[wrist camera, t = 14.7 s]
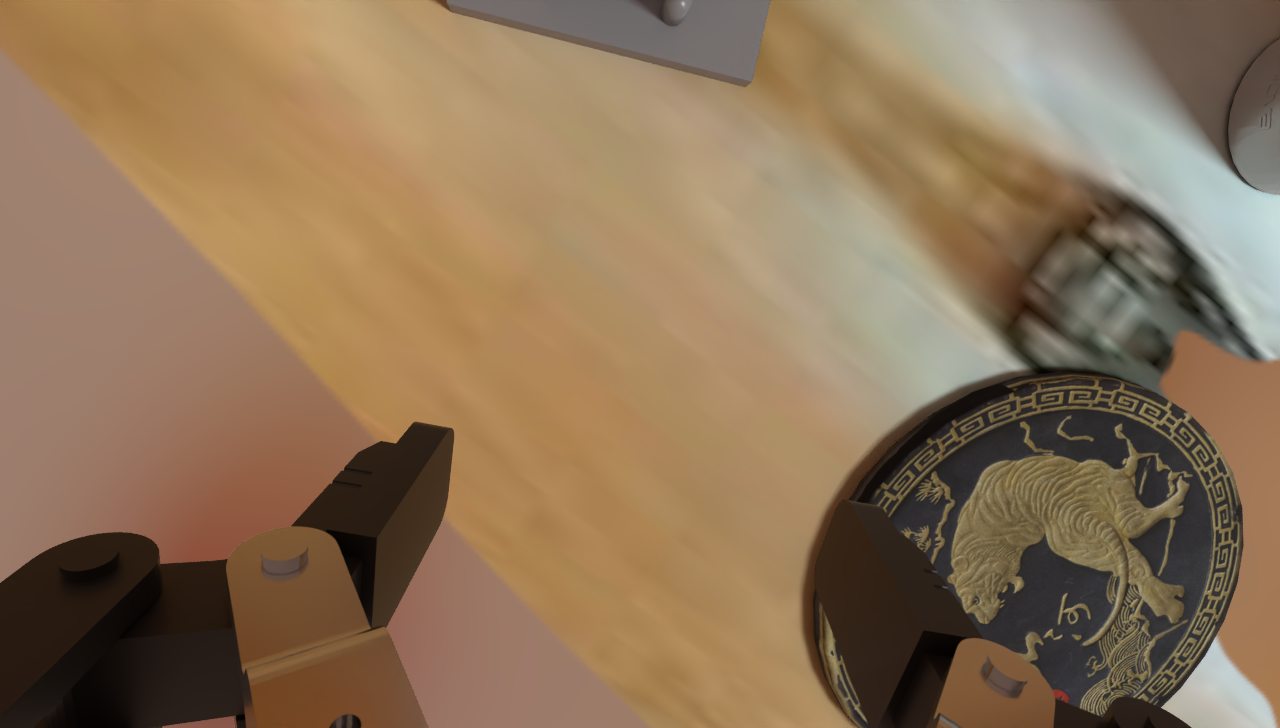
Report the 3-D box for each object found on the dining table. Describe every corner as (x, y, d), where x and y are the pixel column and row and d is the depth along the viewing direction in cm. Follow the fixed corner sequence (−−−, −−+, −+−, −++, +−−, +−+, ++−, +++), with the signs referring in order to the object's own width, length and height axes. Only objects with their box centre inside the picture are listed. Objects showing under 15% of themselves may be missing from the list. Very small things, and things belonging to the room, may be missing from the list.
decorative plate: (1150, 798, 44) (771, 772, 40) (1127, 775, 46) (762, 748, 42) (1320, 418, 39) (899, 336, 34) (1286, 409, 40) (882, 330, 36)
